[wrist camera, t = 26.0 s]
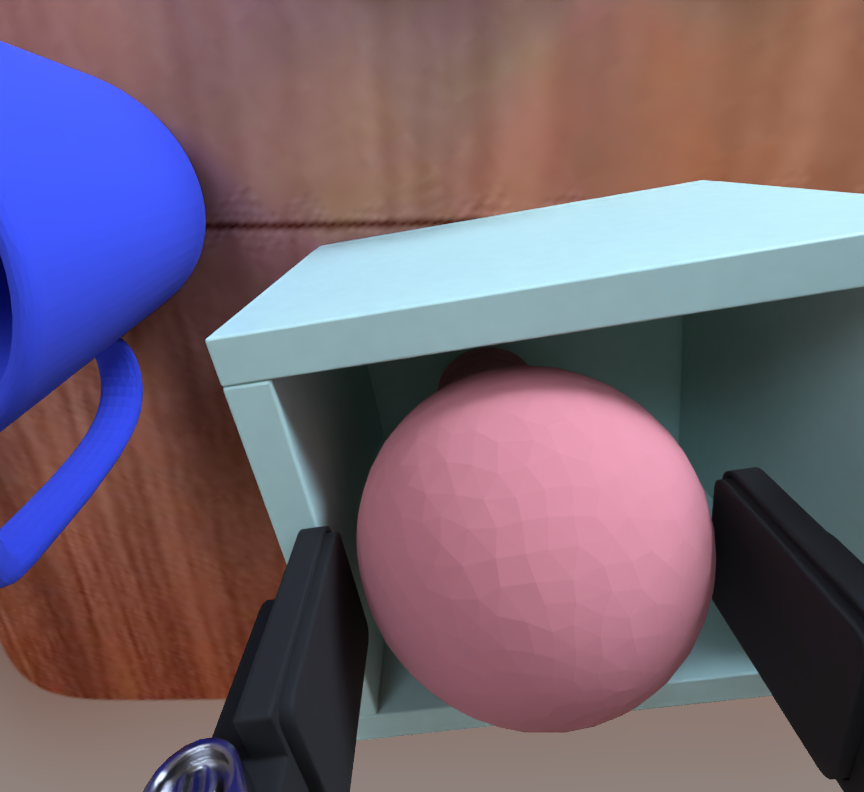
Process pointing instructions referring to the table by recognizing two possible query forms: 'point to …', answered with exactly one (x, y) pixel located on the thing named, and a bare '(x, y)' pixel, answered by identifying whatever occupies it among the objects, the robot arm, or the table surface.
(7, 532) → the mug
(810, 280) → the mint green open box
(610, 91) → the table surface
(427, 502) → the light bulb
